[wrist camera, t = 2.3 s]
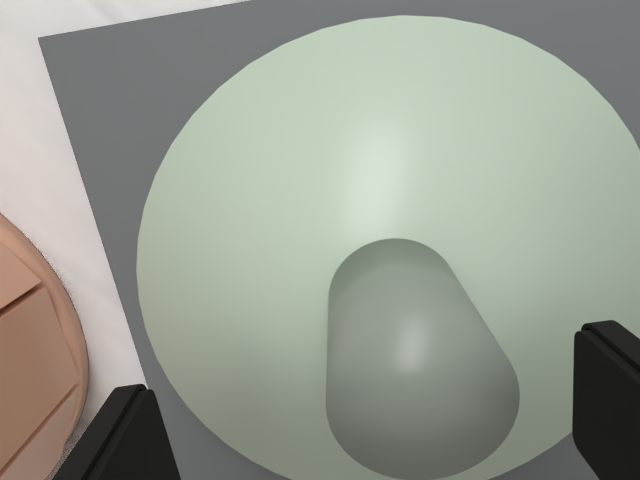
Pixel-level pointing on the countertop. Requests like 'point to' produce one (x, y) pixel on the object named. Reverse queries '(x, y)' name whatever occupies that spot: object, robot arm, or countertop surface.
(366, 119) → the lid
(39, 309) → the bowl
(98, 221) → the mat
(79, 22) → the countertop surface
